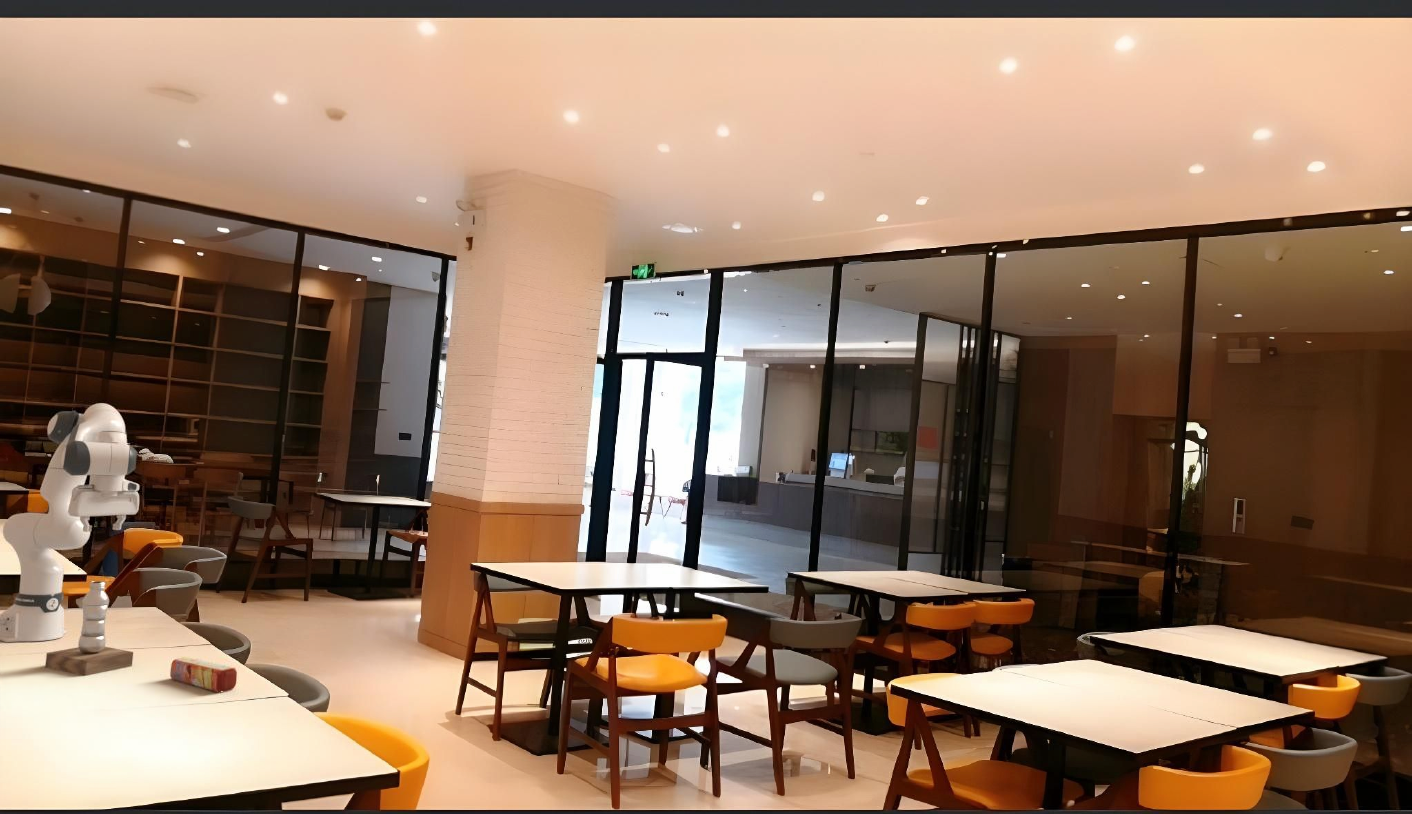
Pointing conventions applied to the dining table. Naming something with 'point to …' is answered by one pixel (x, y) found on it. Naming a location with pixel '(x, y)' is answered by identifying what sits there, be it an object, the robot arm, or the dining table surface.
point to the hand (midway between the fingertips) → (102, 530)
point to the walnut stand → (88, 660)
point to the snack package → (204, 674)
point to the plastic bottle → (94, 618)
